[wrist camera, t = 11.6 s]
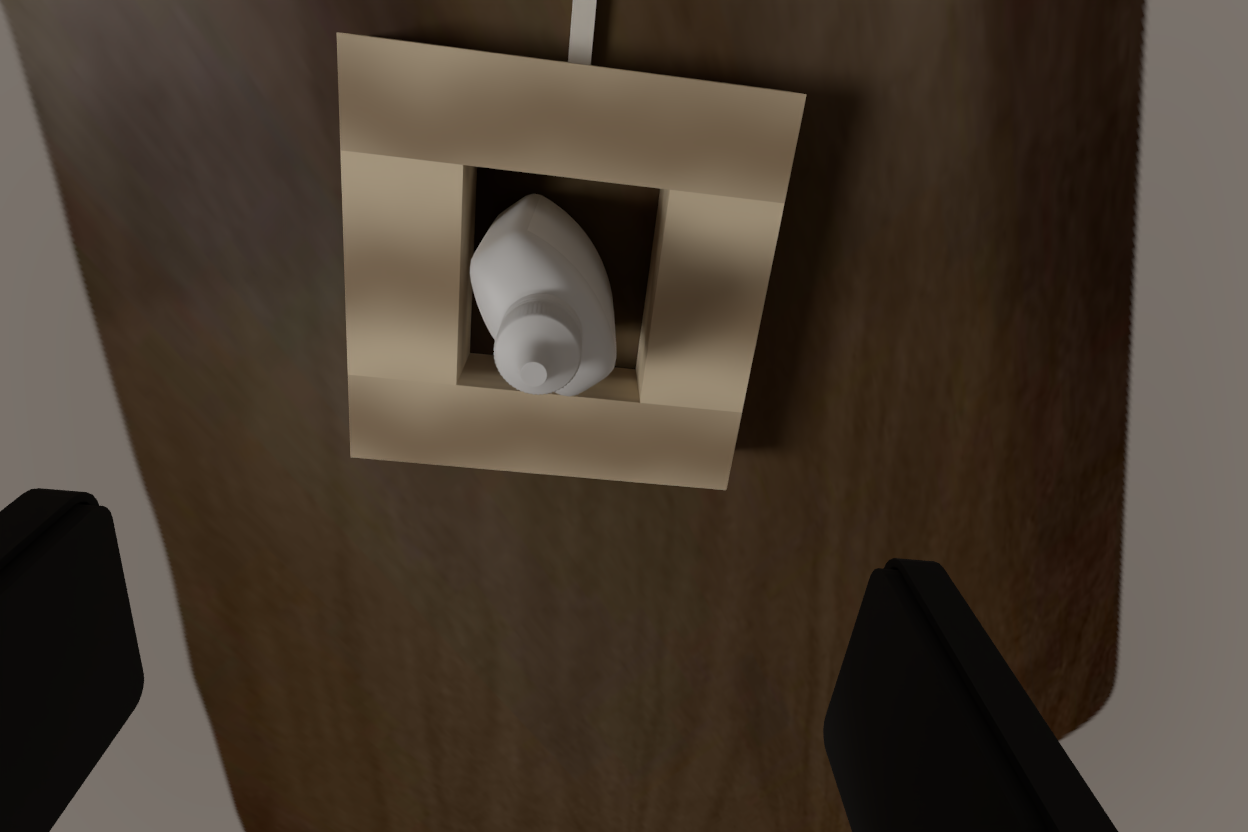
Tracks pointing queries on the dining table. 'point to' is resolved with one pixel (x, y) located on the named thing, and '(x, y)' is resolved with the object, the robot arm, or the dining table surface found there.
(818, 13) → the dining table surface
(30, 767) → the robot arm
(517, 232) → the eye dropper bottle
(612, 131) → the rectangular frame
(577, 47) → the white rectangular bar
